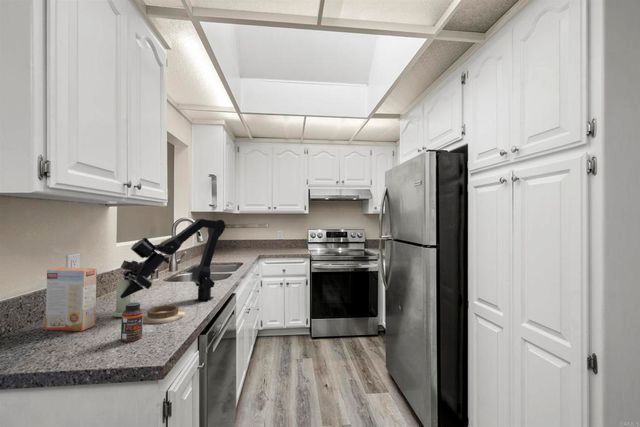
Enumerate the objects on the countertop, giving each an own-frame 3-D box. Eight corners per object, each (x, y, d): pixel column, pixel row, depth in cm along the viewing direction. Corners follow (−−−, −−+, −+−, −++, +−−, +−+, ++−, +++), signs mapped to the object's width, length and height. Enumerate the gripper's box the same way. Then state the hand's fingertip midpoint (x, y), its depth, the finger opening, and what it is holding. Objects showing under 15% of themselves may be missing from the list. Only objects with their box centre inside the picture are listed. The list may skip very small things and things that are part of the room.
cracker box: (96, 325, 106) (97, 267, 107) (81, 332, 100) (82, 270, 101) (61, 324, 108) (62, 266, 108) (44, 330, 102) (45, 269, 102)
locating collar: (158, 309, 126) (158, 302, 126) (193, 311, 123) (193, 304, 124) (129, 322, 110) (129, 314, 110) (168, 325, 108) (169, 317, 108)
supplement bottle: (124, 344, 91) (125, 307, 91) (117, 339, 95) (118, 304, 95) (145, 338, 96) (146, 303, 96) (138, 333, 99) (138, 300, 100)
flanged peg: (122, 310, 121) (122, 278, 121) (137, 311, 120) (138, 279, 120) (107, 316, 114) (108, 282, 114) (123, 317, 113) (124, 283, 113)
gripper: (128, 251, 126) (95, 280, 118) (143, 254, 114) (108, 288, 105) (148, 267, 132) (118, 296, 124) (164, 272, 120) (133, 305, 111)
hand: (119, 296), depth 116 cm, fingers closed on flanged peg, 5 cm apart
